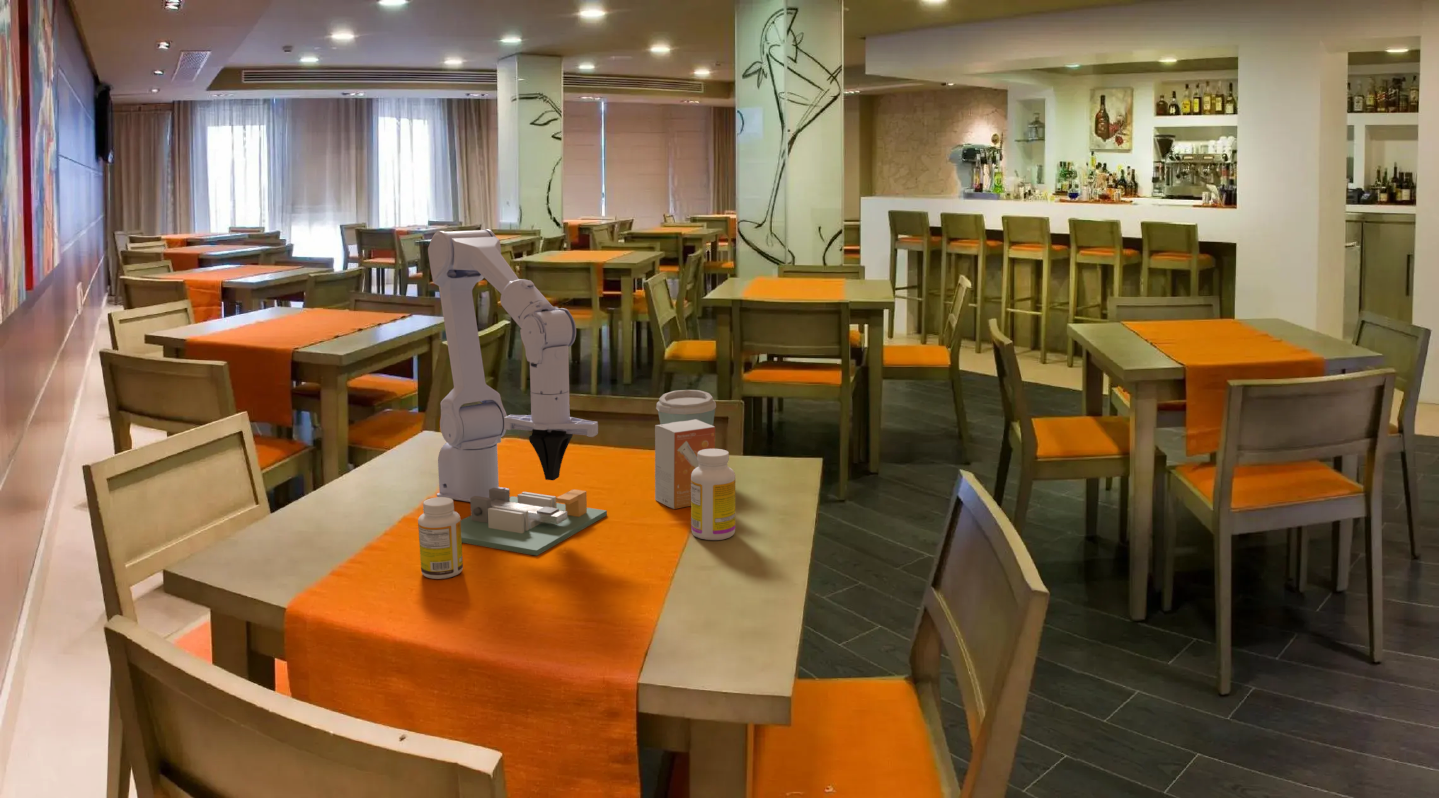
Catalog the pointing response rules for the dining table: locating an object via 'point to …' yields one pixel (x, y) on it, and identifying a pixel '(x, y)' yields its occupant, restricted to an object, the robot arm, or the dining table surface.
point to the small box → (679, 459)
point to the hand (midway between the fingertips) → (552, 478)
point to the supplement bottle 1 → (440, 539)
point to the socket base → (519, 523)
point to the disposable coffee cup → (686, 406)
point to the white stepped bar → (535, 511)
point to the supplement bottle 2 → (713, 496)
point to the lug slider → (574, 502)
